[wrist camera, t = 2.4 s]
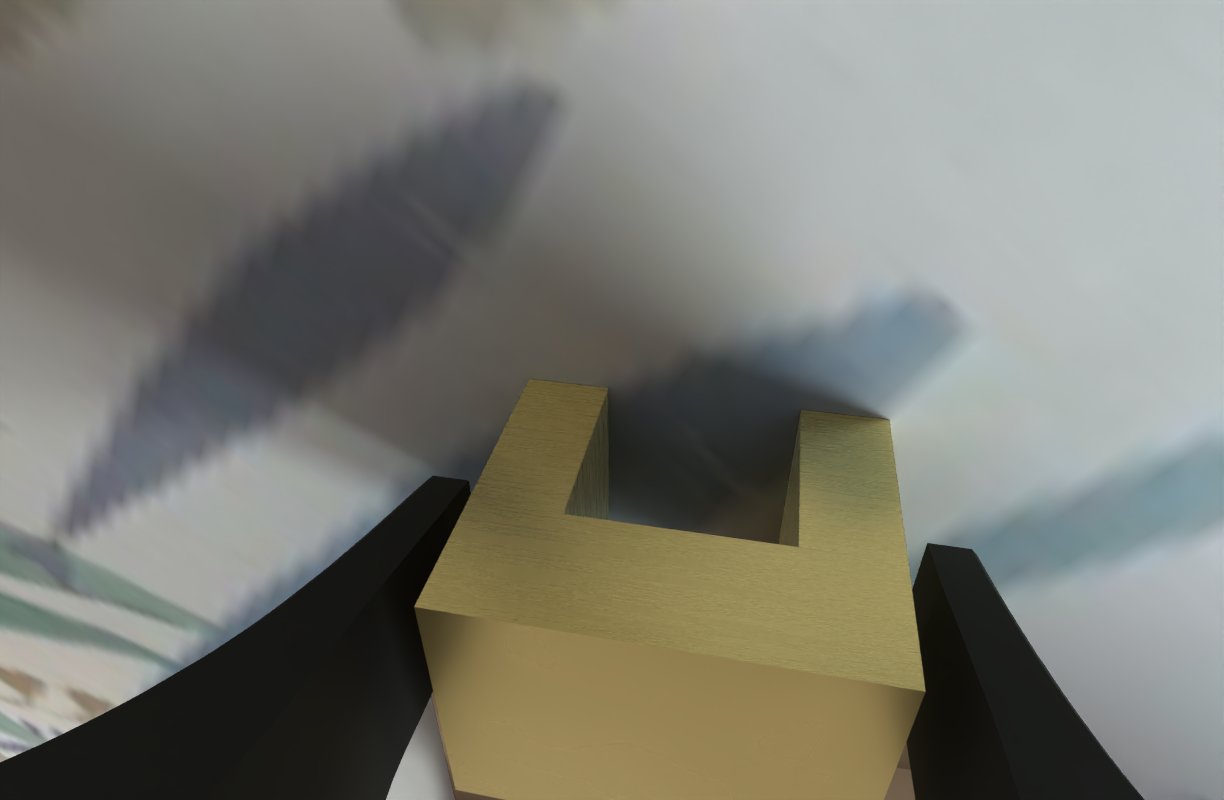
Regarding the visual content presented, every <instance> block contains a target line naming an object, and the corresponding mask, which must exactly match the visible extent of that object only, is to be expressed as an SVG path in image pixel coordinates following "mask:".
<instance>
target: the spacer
mask: <svg viewBox="0 0 1224 800" xmlns="http://www.w3.org/2000/svg"><path fill="white" fill-rule="evenodd" d="M414 608H415V613H416V617H417V622H418V626H419V631H420V635H421V639H422V644H423V648H424V653H425V657H426V661H427V666H428V670H429V675H430V679H431V683H432V688H433V692H434V697H435V701H436V706H437V710H438V714H439V719H440V723H441V728H442V732H443V736H444V741H445V745H446V750H447V754H448V759H449V763H450V767H451V772H452V776H453V781H454V785H455V789H456V790H459V791H464V792H469V793H474V794H479V795H484V796H489V797H494V798H499V799H504V800H884V799H885V796H886V793H887V791H888V788H889V786H890V783H891V780H892V778H893V775H894V773H895V770H896V767H897V765H898V762H899V760H900V757H901V754H902V752H903V749H904V747H905V744H906V741H907V739H908V736H909V733H910V731H911V728H912V726H913V723H914V720H915V718H916V715H917V713H918V710H919V707H920V705H921V702H922V700H923V697H924V694H925V692H926V691H925V683H924V676H923V668H922V661H921V653H920V646H919V638H918V631H917V623H916V616H915V608H914V601H913V593H912V586H911V578H910V571H909V563H908V556H907V549H906V541H905V534H904V526H903V519H902V511H901V504H900V496H899V489H898V481H897V474H896V466H895V459H894V451H893V444H892V436H891V429H890V421H889V420H887V419H878V418H869V417H860V416H851V415H842V414H834V413H825V412H816V411H807V410H801V412H800V418H799V424H798V430H797V436H796V442H795V448H794V454H793V460H792V465H791V471H790V477H789V483H788V489H787V495H786V501H785V507H784V512H783V518H782V524H781V530H780V536H779V542H778V544H773V543H766V542H759V541H752V540H745V539H737V538H730V537H723V536H716V535H709V534H702V533H695V532H688V531H681V530H674V529H666V528H659V527H652V526H645V525H638V524H631V523H624V522H617V521H610V520H609V421H608V388H604V387H595V386H586V385H578V384H569V383H560V382H551V381H542V380H534V379H529V381H528V383H527V385H526V387H525V389H524V391H523V392H522V394H521V396H520V398H519V400H518V402H517V404H516V406H515V408H514V410H513V412H512V414H511V416H510V418H509V420H508V422H507V424H506V426H505V428H504V430H503V432H502V434H501V436H500V438H499V440H498V442H497V444H496V446H495V448H494V450H493V452H492V454H491V456H490V458H489V460H488V462H487V464H486V466H485V468H484V470H483V472H482V474H481V476H480V478H479V480H478V482H477V484H476V486H475V487H474V489H473V491H472V493H471V495H470V497H469V499H468V501H467V503H466V505H465V507H464V509H463V511H462V513H461V515H460V517H459V519H458V521H457V523H456V525H455V527H454V529H453V531H452V533H451V535H450V537H449V539H448V541H447V543H446V545H445V547H444V549H443V551H442V553H441V555H440V557H439V559H438V561H437V563H436V565H435V567H434V569H433V571H432V573H431V575H430V577H429V579H428V581H427V583H426V584H425V586H424V588H423V590H422V592H421V594H420V596H419V598H418V600H417V602H416V604H415V606H414Z"/></svg>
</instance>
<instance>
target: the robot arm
mask: <svg viewBox="0 0 1224 800" xmlns="http://www.w3.org/2000/svg"><path fill="white" fill-rule="evenodd" d="M470 495H471V493H470V486H469V481H467V480H460V479H453V478H445V477H438V476H432V477H431V478H429V479H428V480H427V481H426V482H425V483H424V484H422V485H421V486H420V487H419V488H418V489H417V490H416V491H414V492H413V493H412V494H411V495H410V496H409V497H408V498H407V499H406V500H404V501H403V502H402V503H401V504H400V505H399V506H398V507H397V508H396V509H394V510H393V511H392V512H391V513H390V514H389V515H388V516H387V517H386V518H384V519H383V520H382V521H381V522H380V523H379V524H378V525H377V526H375V527H374V528H373V529H372V530H371V531H370V532H369V533H368V534H366V535H365V536H364V537H363V538H362V539H361V540H359V541H358V542H357V543H356V544H355V545H354V546H352V547H351V548H350V549H349V550H348V551H347V552H345V553H344V554H343V555H342V556H341V557H339V558H338V559H337V560H336V561H335V562H334V563H332V564H331V565H330V566H329V567H328V568H326V569H325V570H324V571H323V572H321V573H320V574H319V575H318V576H316V577H315V578H314V579H313V580H311V581H310V582H309V583H307V584H306V585H305V586H304V587H302V588H301V589H300V590H298V591H297V592H296V593H295V594H293V595H292V596H291V597H289V598H288V599H287V600H286V601H284V602H283V603H282V604H280V605H279V606H278V607H276V608H275V609H274V610H272V611H271V612H270V613H268V614H267V615H265V616H264V617H263V618H261V619H260V620H259V621H257V622H256V623H254V624H253V625H251V626H250V627H249V628H247V629H246V630H244V631H243V632H241V633H240V634H238V635H237V636H235V637H234V638H232V639H231V640H229V641H228V642H226V643H225V644H223V645H222V646H220V647H219V648H217V649H216V650H214V651H213V652H211V653H209V654H208V655H206V656H205V657H203V658H201V659H200V660H198V661H196V662H194V663H193V664H191V665H189V666H188V667H186V668H184V669H183V670H181V671H179V672H177V673H176V674H174V675H172V676H171V677H169V678H167V679H166V680H164V681H162V682H160V683H159V684H157V685H155V686H154V687H152V688H150V689H149V690H147V691H145V692H143V693H142V694H140V695H138V696H136V697H134V698H132V699H131V700H129V701H127V702H125V703H123V704H121V705H119V706H117V707H115V708H114V709H112V710H110V711H108V712H106V713H104V714H102V715H100V716H98V717H96V718H94V719H92V720H90V721H88V722H86V723H84V724H82V725H80V726H78V727H76V728H74V729H72V730H70V731H68V732H66V733H64V734H62V735H60V736H58V737H56V738H54V739H51V740H49V741H47V742H45V743H43V744H41V745H39V746H36V747H34V748H32V749H30V750H27V751H25V752H23V753H21V754H18V755H16V756H14V757H12V758H9V759H7V760H5V761H3V762H0V800H386V798H387V795H388V792H389V789H390V786H391V784H392V781H393V778H394V776H395V774H396V771H397V769H398V766H399V764H400V762H401V759H402V757H403V755H404V752H405V750H406V748H407V746H408V744H409V741H410V739H411V737H412V735H413V733H414V731H415V729H416V727H417V724H418V722H419V720H420V718H421V716H422V714H423V712H424V710H425V707H426V705H427V703H428V701H429V699H430V697H431V695H432V693H433V688H432V683H431V679H430V675H429V670H428V666H427V661H426V657H425V653H424V648H423V644H422V639H421V635H420V631H419V626H418V622H417V617H416V613H415V608H414V606H415V604H416V602H417V600H418V598H419V596H420V594H421V592H422V590H423V588H424V586H425V584H426V583H427V581H428V579H429V577H430V575H431V573H432V571H433V569H434V567H435V565H436V563H437V561H438V559H439V557H440V555H441V553H442V551H443V549H444V547H445V545H446V543H447V541H448V539H449V537H450V535H451V533H452V531H453V529H454V527H455V525H456V523H457V521H458V519H459V517H460V515H461V513H462V511H463V509H464V507H465V505H466V503H467V501H468V499H469V497H470ZM912 593H913V601H914V608H915V616H916V623H917V631H918V638H919V646H920V653H921V661H922V668H923V676H924V683H925V691H926V692H925V694H924V697H923V700H922V702H921V705H920V707H919V710H918V713H917V715H916V718H915V720H914V723H913V726H912V728H911V731H910V733H909V736H908V739H907V741H906V743H907V749H908V756H909V762H910V769H911V775H912V781H913V788H914V794H915V800H1144V799H1143V797H1142V796H1141V795H1140V794H1139V793H1138V791H1137V790H1136V789H1135V788H1134V787H1133V785H1132V784H1131V783H1130V782H1129V780H1128V779H1127V778H1126V777H1125V775H1124V774H1123V773H1122V772H1121V770H1120V769H1119V768H1118V767H1117V765H1116V764H1115V763H1114V761H1113V760H1112V759H1111V758H1110V756H1109V755H1108V754H1107V752H1106V751H1105V750H1104V748H1103V747H1102V746H1101V744H1100V743H1099V742H1098V740H1097V739H1096V738H1095V736H1094V735H1093V734H1092V732H1091V731H1090V730H1089V728H1088V727H1087V726H1086V724H1085V723H1084V722H1083V720H1082V719H1081V718H1080V716H1079V715H1078V713H1077V712H1076V711H1075V709H1074V708H1073V706H1072V705H1071V704H1070V702H1069V701H1068V699H1067V698H1066V696H1065V695H1064V694H1063V692H1062V691H1061V689H1060V688H1059V686H1058V685H1057V683H1056V682H1055V680H1054V679H1053V677H1052V676H1051V674H1050V673H1049V671H1048V670H1047V668H1046V667H1045V665H1044V664H1043V662H1042V661H1041V659H1040V658H1039V657H1038V655H1037V654H1036V652H1035V651H1034V649H1033V647H1032V646H1031V644H1030V643H1029V641H1028V640H1027V638H1026V636H1025V635H1024V633H1023V632H1022V630H1021V629H1020V627H1019V625H1018V624H1017V622H1016V620H1015V619H1014V617H1013V616H1012V614H1011V612H1010V611H1009V609H1008V607H1007V606H1006V604H1005V602H1004V601H1003V599H1002V597H1001V596H1000V594H999V592H998V591H997V589H996V587H995V586H994V584H993V582H992V580H991V579H990V577H989V575H988V574H987V572H986V570H985V568H984V567H983V565H982V563H981V561H980V560H979V558H978V556H977V555H976V554H975V553H974V551H973V550H972V549H967V548H959V547H952V546H945V545H937V544H930V543H927V546H926V549H925V552H924V555H923V558H922V561H921V565H920V568H919V571H918V574H917V577H916V580H915V583H914V586H913V589H912Z"/></svg>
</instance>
